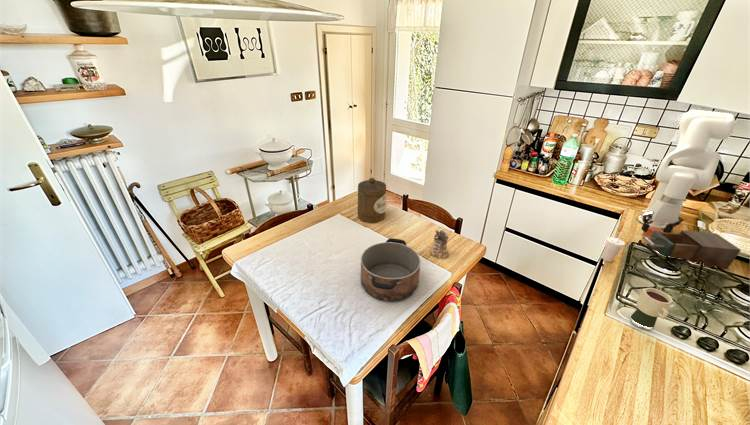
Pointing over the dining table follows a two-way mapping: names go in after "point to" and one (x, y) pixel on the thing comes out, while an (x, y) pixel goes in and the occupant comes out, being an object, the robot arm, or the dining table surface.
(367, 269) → the cooking pot
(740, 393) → the dining table surface
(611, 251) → the smoothie
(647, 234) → the block
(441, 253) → the figurine
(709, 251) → the cabinet
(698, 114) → the robot arm
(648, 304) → the character mug
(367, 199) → the brown lidded canister
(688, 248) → the drawer
